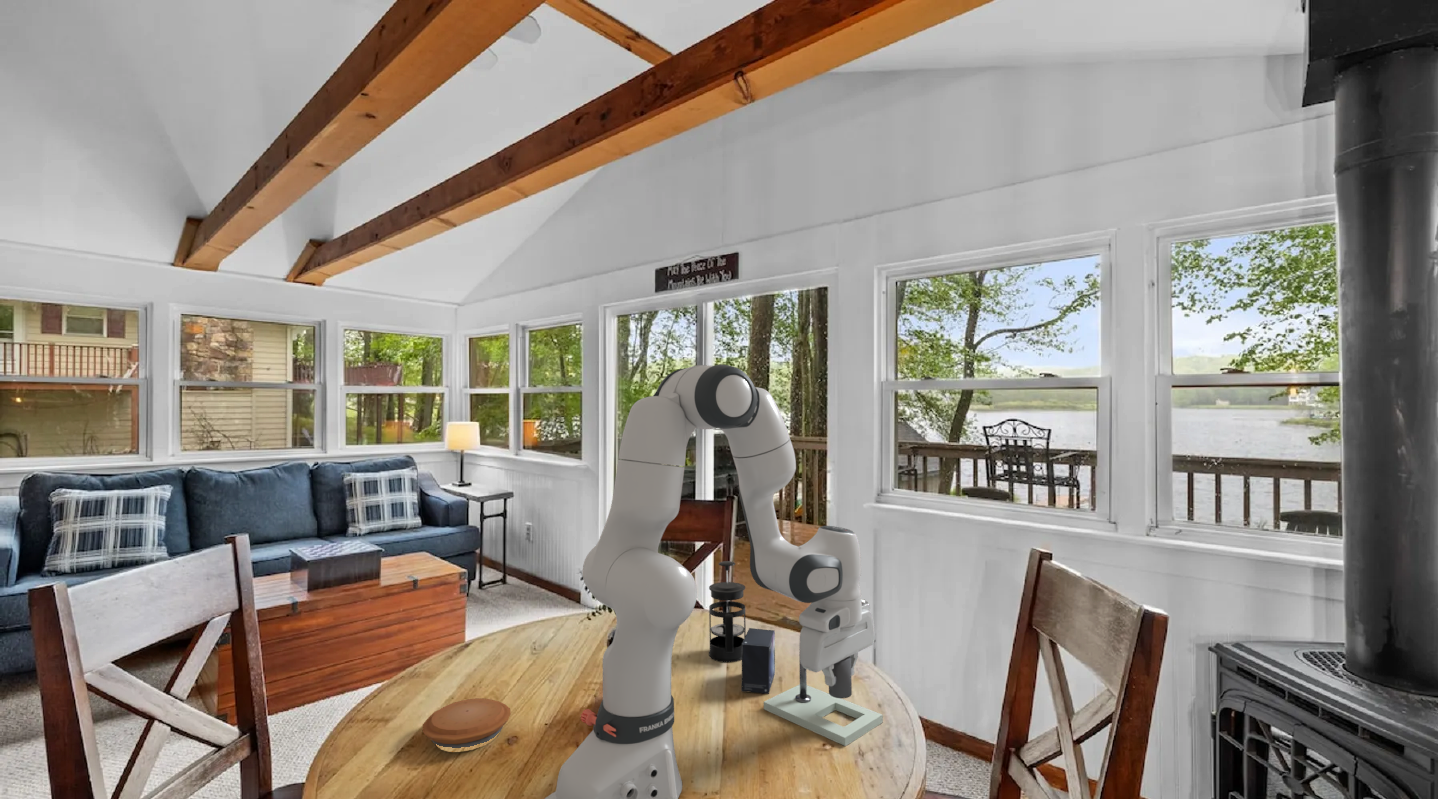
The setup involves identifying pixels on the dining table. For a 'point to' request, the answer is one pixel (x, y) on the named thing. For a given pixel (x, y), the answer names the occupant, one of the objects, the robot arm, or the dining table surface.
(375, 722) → the dining table surface
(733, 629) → the french press
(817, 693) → the pale green board
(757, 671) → the small box
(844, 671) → the grey cylinder with ball
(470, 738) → the pie
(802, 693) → the grey angled rod part
